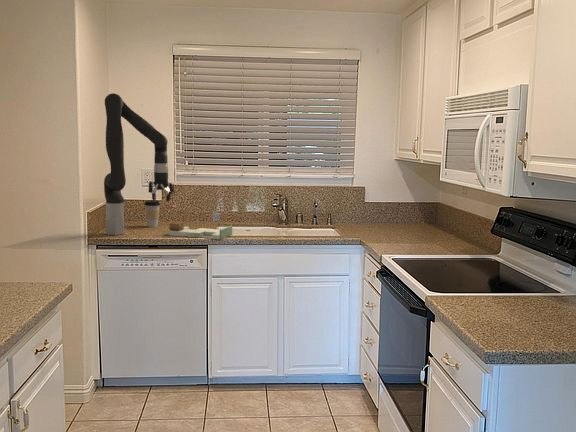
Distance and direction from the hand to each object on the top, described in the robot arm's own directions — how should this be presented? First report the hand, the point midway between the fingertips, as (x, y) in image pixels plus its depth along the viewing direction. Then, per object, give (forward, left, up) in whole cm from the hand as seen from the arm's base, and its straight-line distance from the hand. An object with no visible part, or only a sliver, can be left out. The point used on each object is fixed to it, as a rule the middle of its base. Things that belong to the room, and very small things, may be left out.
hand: (161, 200), depth 327 cm
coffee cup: (+18, +15, -18) cm, 30 cm away
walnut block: (0, -10, -16) cm, 18 cm away
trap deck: (+4, -22, -18) cm, 28 cm away
